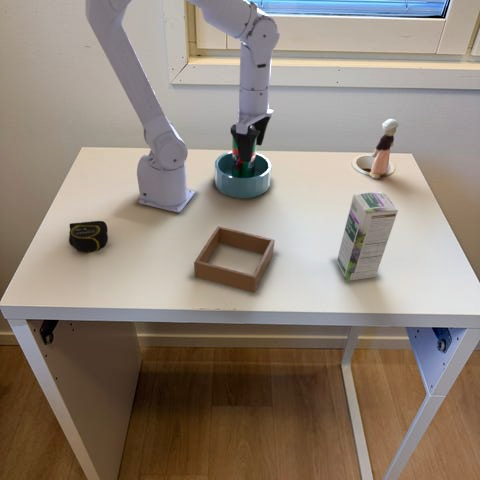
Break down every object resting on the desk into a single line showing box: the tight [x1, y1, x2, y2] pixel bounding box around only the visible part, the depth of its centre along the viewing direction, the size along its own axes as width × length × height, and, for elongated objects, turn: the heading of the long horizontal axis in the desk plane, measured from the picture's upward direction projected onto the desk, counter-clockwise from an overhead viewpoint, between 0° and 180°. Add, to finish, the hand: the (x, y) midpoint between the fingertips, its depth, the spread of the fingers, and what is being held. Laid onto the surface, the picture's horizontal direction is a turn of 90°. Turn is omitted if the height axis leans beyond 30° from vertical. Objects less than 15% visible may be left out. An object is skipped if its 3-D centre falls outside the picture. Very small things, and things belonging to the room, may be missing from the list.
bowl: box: [214, 151, 272, 199], centre depth 103 cm, size 12×12×4 cm
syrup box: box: [336, 191, 399, 282], centre depth 80 cm, size 6×6×14 cm
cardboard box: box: [193, 225, 276, 294], centre depth 84 cm, size 11×11×4 cm
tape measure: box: [68, 220, 109, 254], centre depth 87 cm, size 7×7×4 cm
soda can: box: [231, 125, 257, 178], centre depth 99 cm, size 5×5×12 cm
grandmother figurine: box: [368, 118, 400, 180], centre depth 104 cm, size 8×4×13 cm, turn 148°
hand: (251, 152), depth 98 cm, fingers open, 7 cm apart
